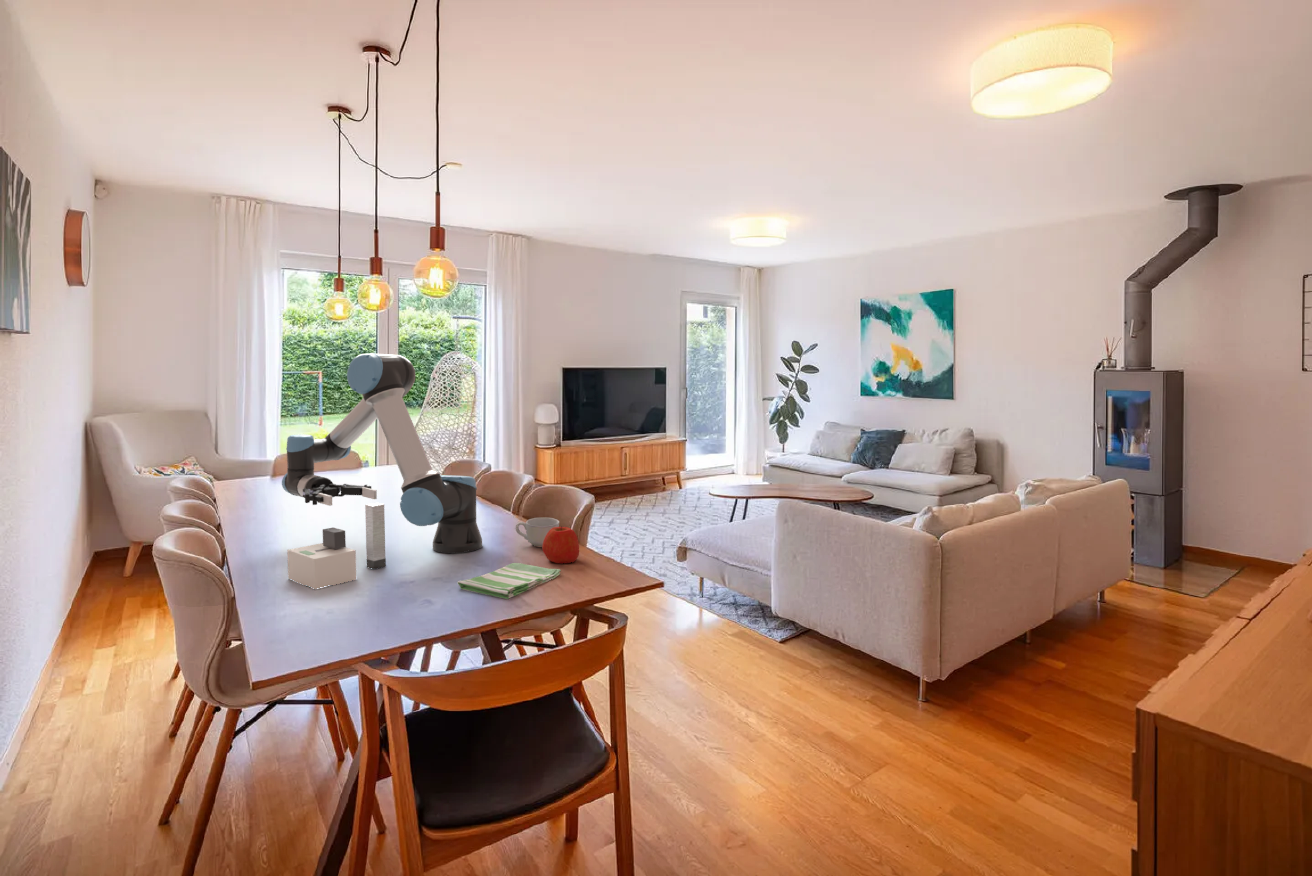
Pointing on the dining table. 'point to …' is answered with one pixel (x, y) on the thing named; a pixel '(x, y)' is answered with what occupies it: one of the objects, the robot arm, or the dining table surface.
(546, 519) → the teacup
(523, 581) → the dish towel
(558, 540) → the apple
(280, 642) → the dining table surface
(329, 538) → the knob
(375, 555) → the white tall square post
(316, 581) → the bevelled white plinth
